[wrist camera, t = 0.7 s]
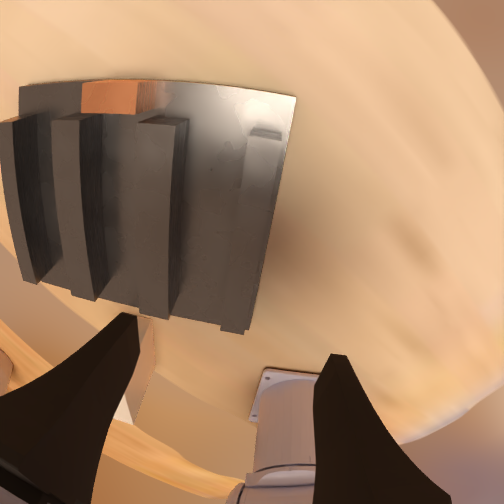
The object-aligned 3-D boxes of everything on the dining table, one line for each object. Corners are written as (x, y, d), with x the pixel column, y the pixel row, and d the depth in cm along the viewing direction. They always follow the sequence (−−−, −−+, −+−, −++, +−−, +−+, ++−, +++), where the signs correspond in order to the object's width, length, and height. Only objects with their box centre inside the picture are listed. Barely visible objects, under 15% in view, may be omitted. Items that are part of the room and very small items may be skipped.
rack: (250, 321, 24) (245, 355, 21) (47, 274, 24) (26, 299, 21) (295, 96, 16) (299, 100, 13) (28, 85, 16) (-7, 92, 13)
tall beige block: (155, 363, 28) (133, 424, 22) (132, 357, 28) (107, 416, 22) (152, 319, 25) (122, 386, 19) (125, 312, 25) (91, 376, 19)
